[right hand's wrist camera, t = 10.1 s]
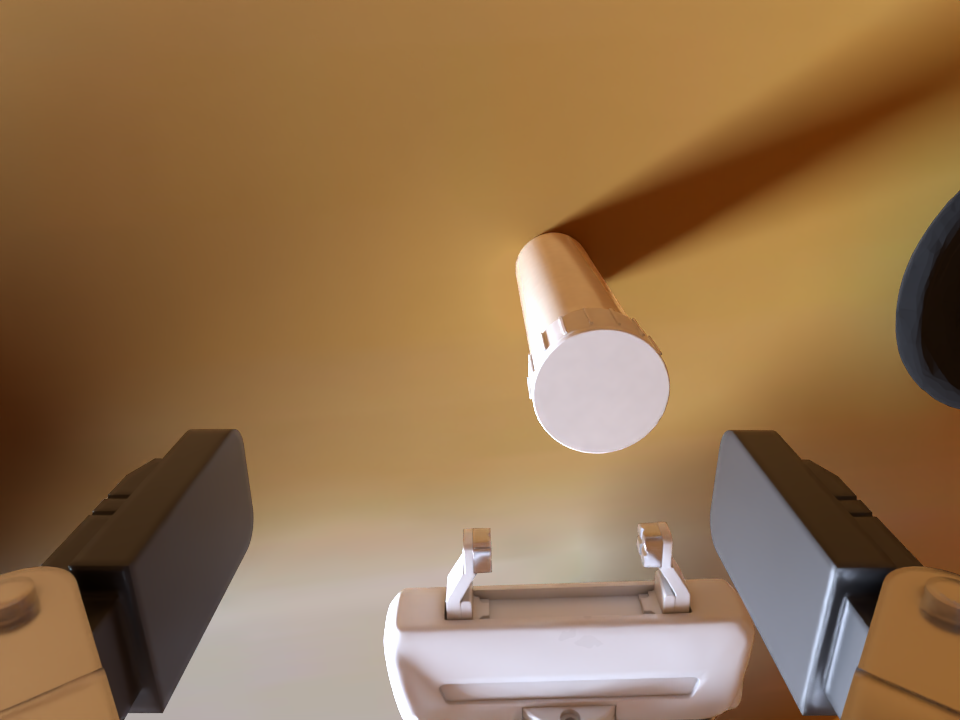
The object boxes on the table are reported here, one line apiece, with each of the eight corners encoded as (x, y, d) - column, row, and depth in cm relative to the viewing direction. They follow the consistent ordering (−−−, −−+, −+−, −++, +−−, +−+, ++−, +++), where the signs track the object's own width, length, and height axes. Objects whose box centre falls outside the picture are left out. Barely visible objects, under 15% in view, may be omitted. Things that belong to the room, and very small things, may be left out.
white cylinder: (503, 286, 38) (516, 415, 22) (535, 220, 36) (572, 309, 21) (568, 315, 38) (623, 459, 23) (601, 250, 37) (684, 359, 22)
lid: (506, 396, 24) (508, 424, 22) (562, 285, 23) (571, 304, 21) (616, 442, 25) (628, 473, 23) (679, 337, 23) (698, 361, 21)
